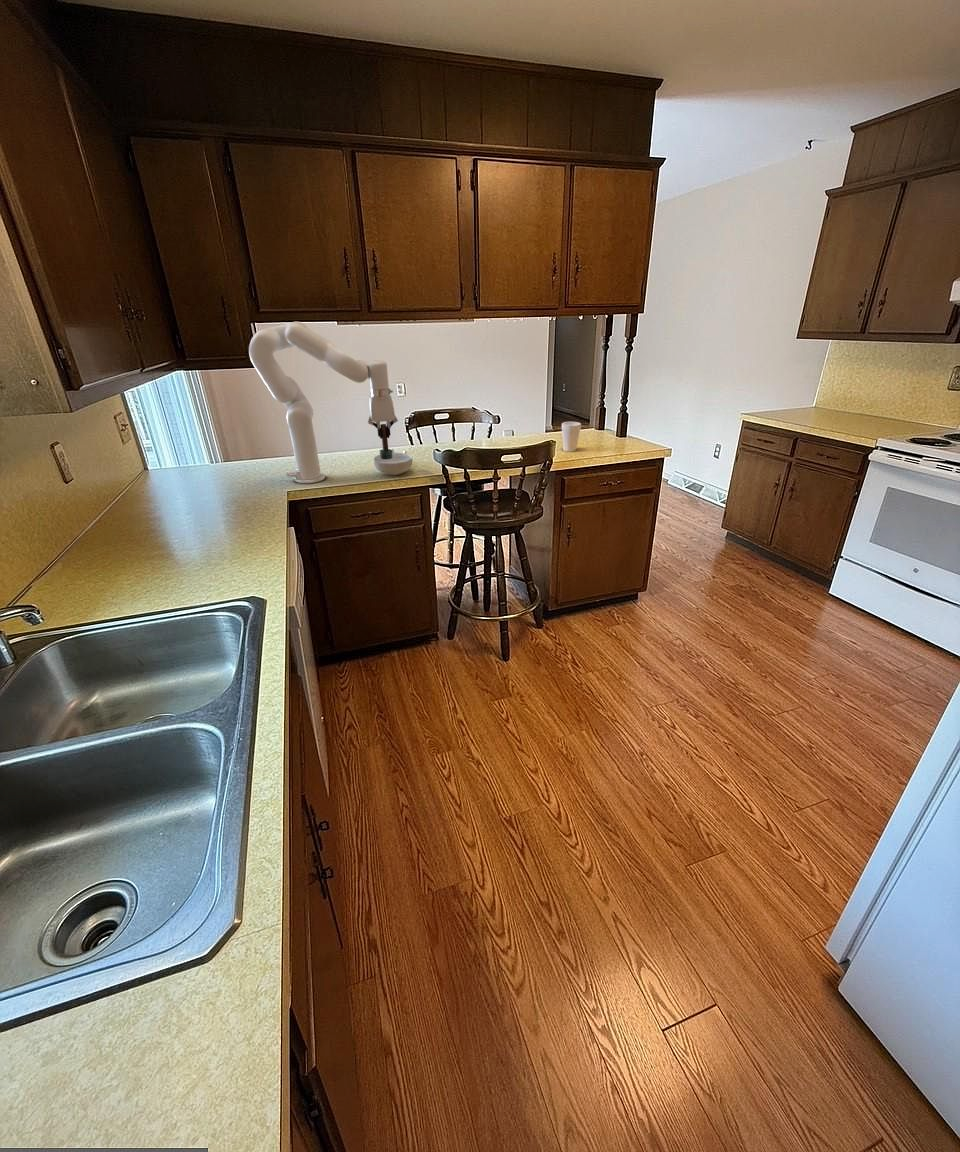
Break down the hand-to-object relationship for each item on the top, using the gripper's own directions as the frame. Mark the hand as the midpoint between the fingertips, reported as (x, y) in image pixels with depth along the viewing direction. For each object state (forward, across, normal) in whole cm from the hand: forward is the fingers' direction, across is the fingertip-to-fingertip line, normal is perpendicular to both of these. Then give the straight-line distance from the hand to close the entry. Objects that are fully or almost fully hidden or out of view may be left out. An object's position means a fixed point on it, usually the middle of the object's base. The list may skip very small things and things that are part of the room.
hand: (384, 437), depth 222 cm
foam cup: (+16, -94, -5) cm, 95 cm away
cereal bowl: (+16, -3, 0) cm, 17 cm away
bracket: (+16, -7, -16) cm, 24 cm away
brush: (+9, 0, 0) cm, 9 cm away
